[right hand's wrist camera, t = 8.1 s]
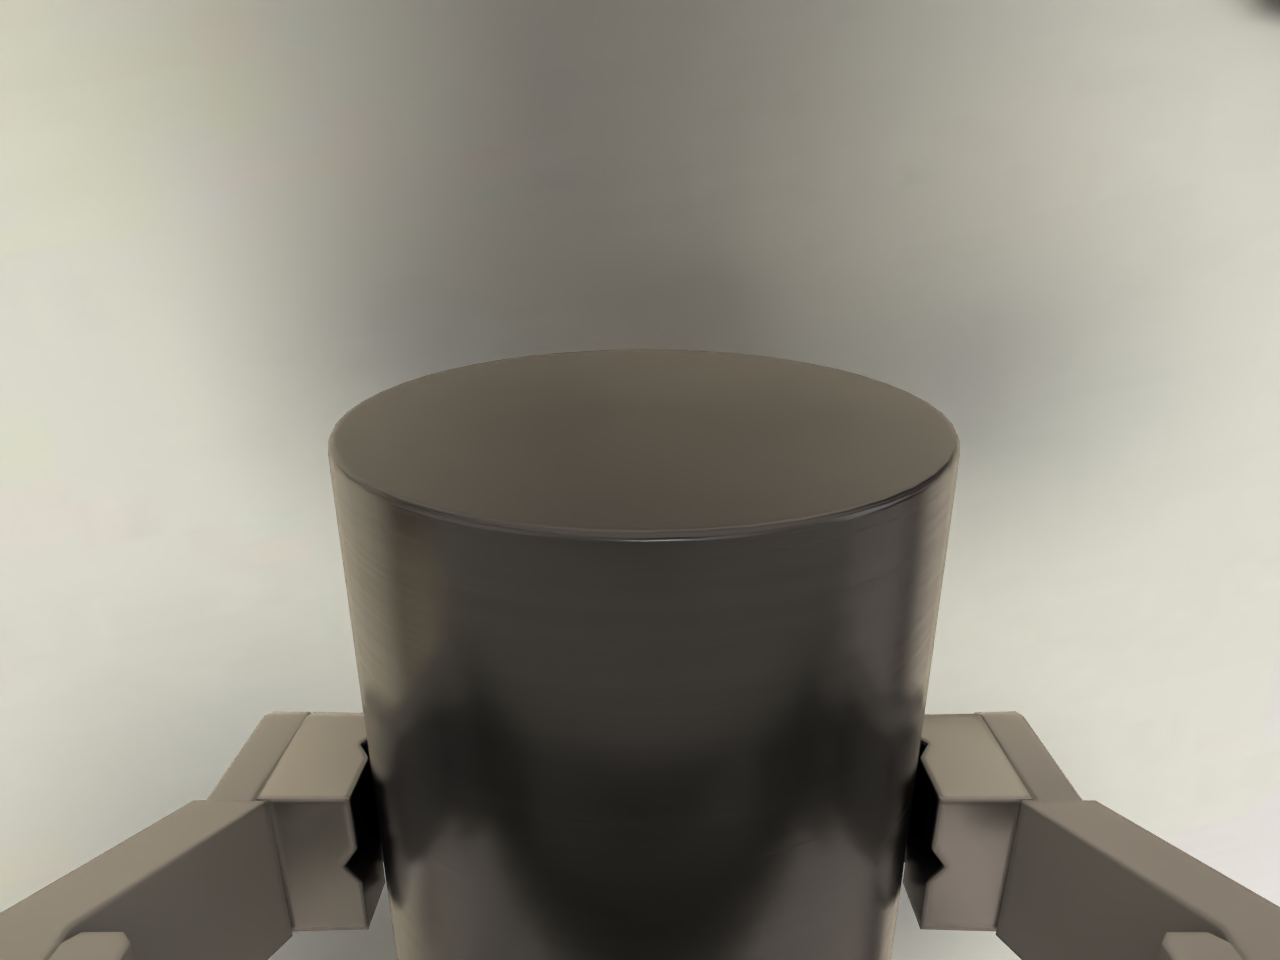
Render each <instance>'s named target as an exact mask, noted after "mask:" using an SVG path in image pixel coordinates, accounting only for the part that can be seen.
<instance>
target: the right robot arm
mask: <svg viewBox="0 0 1280 960" xmlns="http://www.w3.org/2000/svg"><path fill="white" fill-rule="evenodd" d="M383 862H384V859H383V852H382V844H381V837H380V830H379V822H378V815H377V808H376V800H375V793H374V786H373V778H372V771H371V764H370V756H369V749H368V742H367V734H366V727H365V720H364V713H336V712H313V713H310V712H272V713H270V714H268V715H266V716H264V717H263V718H262V720H261V721H260V723H259V724H258V726H257V727H256V729H255V730H254V732H253V733H252V735H251V736H250V738H249V739H248V740H247V742H246V743H245V745H244V746H243V748H242V749H241V751H240V752H239V754H238V755H237V757H236V758H235V759H234V761H233V762H232V764H231V765H230V767H229V768H228V770H227V771H226V773H225V774H224V776H223V777H222V779H221V780H220V781H219V783H218V784H217V786H216V787H215V789H214V790H213V792H212V793H211V795H210V796H209V798H208V799H207V800H206V801H192V802H191V803H189V804H187V805H185V806H184V807H182V808H180V809H179V810H177V811H175V812H173V813H172V814H170V815H168V816H167V817H165V818H163V819H161V820H160V821H158V822H156V823H154V824H153V825H151V826H149V827H148V828H146V829H144V830H142V831H141V832H139V833H137V834H136V835H134V836H132V837H130V838H129V839H127V840H125V841H124V842H122V843H120V844H118V845H117V846H115V847H113V848H112V849H110V850H108V851H106V852H105V853H103V854H101V855H99V856H98V857H96V858H94V859H93V860H91V861H89V862H87V863H86V864H84V865H82V866H81V867H79V868H77V869H75V870H74V871H72V872H70V873H69V874H67V875H65V876H63V877H62V878H60V879H58V880H57V881H55V882H53V883H51V884H50V885H48V886H46V887H44V888H43V889H41V890H39V891H38V892H36V893H34V894H32V895H31V896H29V897H27V898H26V899H24V900H22V901H20V902H19V903H17V904H15V905H14V906H12V907H10V908H8V909H7V910H5V911H3V912H2V913H0V960H268V959H269V958H270V957H271V956H272V955H273V954H274V953H275V952H276V951H277V950H278V949H279V948H280V947H281V946H282V945H283V944H284V943H285V942H286V941H287V940H288V939H289V938H290V937H291V936H292V931H315V930H349V929H368V928H369V925H370V922H371V919H372V917H373V914H374V911H375V908H376V906H377V903H378V900H379V897H380V894H381V892H382V889H383V886H384V883H385V878H384V870H383ZM904 862H905V870H904V878H903V883H904V886H905V889H906V891H907V894H908V897H909V899H910V902H911V905H912V907H913V910H914V913H915V915H916V918H917V921H918V923H919V926H920V929H937V930H972V931H996V935H997V936H998V937H999V938H1000V939H1001V940H1002V941H1003V942H1004V943H1005V944H1006V945H1007V946H1008V947H1009V948H1010V949H1011V950H1012V951H1013V952H1014V953H1015V954H1016V955H1018V956H1019V957H1020V958H1021V959H1022V960H1280V907H1279V906H1277V905H1275V904H1273V903H1272V902H1270V901H1268V900H1266V899H1265V898H1263V897H1261V896H1259V895H1258V894H1256V893H1254V892H1253V891H1251V890H1249V889H1247V888H1246V887H1244V886H1242V885H1240V884H1239V883H1237V882H1235V881H1234V880H1232V879H1230V878H1228V877H1227V876H1225V875H1223V874H1221V873H1220V872H1218V871H1216V870H1215V869H1213V868H1211V867H1209V866H1208V865H1206V864H1204V863H1202V862H1201V861H1199V860H1197V859H1195V858H1194V857H1192V856H1190V855H1189V854H1187V853H1185V852H1183V851H1182V850H1180V849H1178V848H1176V847H1175V846H1173V845H1171V844H1170V843H1168V842H1166V841H1164V840H1163V839H1161V838H1159V837H1157V836H1156V835H1154V834H1152V833H1151V832H1149V831H1147V830H1145V829H1144V828H1142V827H1140V826H1138V825H1137V824H1135V823H1133V822H1132V821H1130V820H1128V819H1126V818H1125V817H1123V816H1121V815H1119V814H1118V813H1116V812H1114V811H1112V810H1111V809H1109V808H1107V807H1106V806H1104V805H1102V804H1100V803H1099V802H1097V801H1083V800H1082V799H1081V797H1080V796H1079V795H1078V793H1077V792H1076V790H1075V789H1074V788H1073V786H1072V785H1071V783H1070V782H1069V780H1068V779H1067V778H1066V776H1065V775H1064V773H1063V772H1062V770H1061V769H1060V768H1059V766H1058V765H1057V763H1056V762H1055V761H1054V759H1053V758H1052V756H1051V755H1050V753H1049V752H1048V751H1047V749H1046V748H1045V746H1044V745H1043V743H1042V742H1041V741H1040V739H1039V738H1038V736H1037V735H1036V734H1035V732H1034V731H1033V729H1032V728H1031V726H1030V725H1029V724H1028V722H1027V721H1026V719H1025V718H1024V717H1023V716H1022V715H1021V714H1019V713H1017V712H1015V711H1011V712H979V713H974V714H924V719H923V727H922V734H921V741H920V749H919V756H918V763H917V771H916V778H915V785H914V793H913V800H912V807H911V814H910V822H909V829H908V836H907V844H906V851H905V858H904Z"/></svg>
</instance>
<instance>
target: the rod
mask: <svg viewBox="0 0 1280 960" xmlns="http://www.w3.org/2000/svg"><path fill="white" fill-rule="evenodd" d="M328 456H329V463H330V471H331V478H332V485H333V492H334V500H335V507H336V514H337V522H338V529H339V536H340V544H341V551H342V558H343V566H344V573H345V580H346V588H347V595H348V602H349V610H350V617H351V624H352V632H353V639H354V646H355V654H356V661H357V668H358V676H359V683H360V690H361V698H362V705H363V712H364V720H365V727H366V734H367V742H368V749H369V756H370V764H371V771H372V778H373V786H374V793H375V800H376V808H377V815H378V822H379V830H380V837H381V844H382V852H383V859H384V866H385V874H386V881H387V888H388V896H389V903H390V910H391V918H392V925H393V932H394V940H395V947H396V954H397V960H891V954H892V946H893V939H894V932H895V924H896V917H897V910H898V902H899V895H900V888H901V880H902V873H903V866H904V858H905V851H906V844H907V836H908V829H909V822H910V814H911V807H912V800H913V793H914V785H915V778H916V771H917V763H918V756H919V749H920V741H921V734H922V727H923V719H924V712H925V705H926V697H927V690H928V683H929V675H930V668H931V661H932V653H933V646H934V639H935V631H936V624H937V617H938V609H939V602H940V595H941V587H942V580H943V573H944V566H945V558H946V551H947V544H948V536H949V529H950V522H951V514H952V507H953V500H954V492H955V485H956V478H957V470H958V463H959V456H960V442H959V439H958V436H957V434H956V431H955V429H954V427H953V425H952V423H951V422H950V421H949V420H948V419H947V418H946V417H945V416H944V415H943V414H942V413H941V412H940V411H938V410H937V409H936V408H934V407H933V406H931V405H930V404H929V403H927V402H925V401H923V400H922V399H920V398H918V397H916V396H914V395H912V394H910V393H908V392H905V391H903V390H901V389H898V388H896V387H893V386H891V385H888V384H886V383H883V382H880V381H877V380H874V379H871V378H867V377H864V376H861V375H857V374H853V373H850V372H846V371H842V370H838V369H833V368H828V367H824V366H819V365H814V364H809V363H803V362H797V361H791V360H785V359H777V358H770V357H762V356H753V355H743V354H734V353H720V352H706V351H685V350H604V351H583V352H568V353H555V354H545V355H535V356H526V357H519V358H511V359H504V360H497V361H492V362H486V363H480V364H474V365H469V366H465V367H460V368H455V369H451V370H447V371H443V372H439V373H435V374H431V375H428V376H424V377H421V378H418V379H415V380H412V381H409V382H406V383H403V384H400V385H398V386H395V387H393V388H390V389H388V390H385V391H383V392H380V393H378V394H376V395H374V396H373V397H371V398H369V399H367V400H365V401H363V402H361V403H360V404H358V405H357V406H355V407H354V408H353V409H351V410H350V411H348V412H347V413H346V414H345V415H344V416H343V417H342V418H341V419H340V420H339V421H338V423H337V424H336V425H335V427H334V430H333V432H332V434H331V436H330V439H329V448H328Z"/></svg>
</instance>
